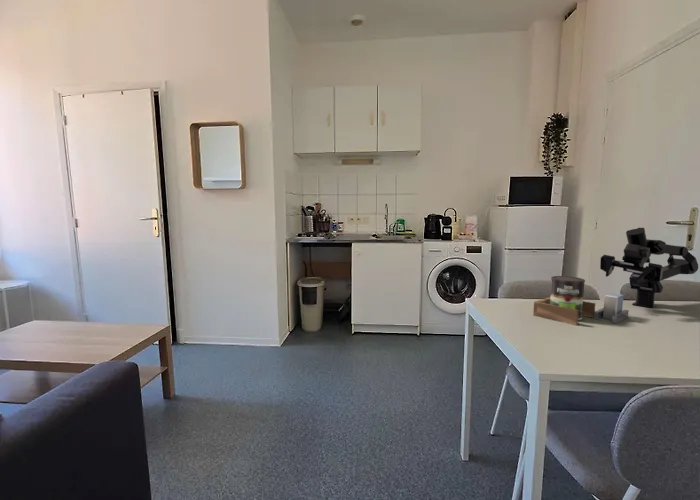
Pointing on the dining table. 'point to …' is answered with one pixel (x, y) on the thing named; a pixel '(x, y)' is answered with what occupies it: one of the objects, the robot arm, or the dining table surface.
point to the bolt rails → (615, 317)
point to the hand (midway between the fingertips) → (620, 278)
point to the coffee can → (567, 293)
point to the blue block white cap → (612, 305)
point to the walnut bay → (561, 311)
